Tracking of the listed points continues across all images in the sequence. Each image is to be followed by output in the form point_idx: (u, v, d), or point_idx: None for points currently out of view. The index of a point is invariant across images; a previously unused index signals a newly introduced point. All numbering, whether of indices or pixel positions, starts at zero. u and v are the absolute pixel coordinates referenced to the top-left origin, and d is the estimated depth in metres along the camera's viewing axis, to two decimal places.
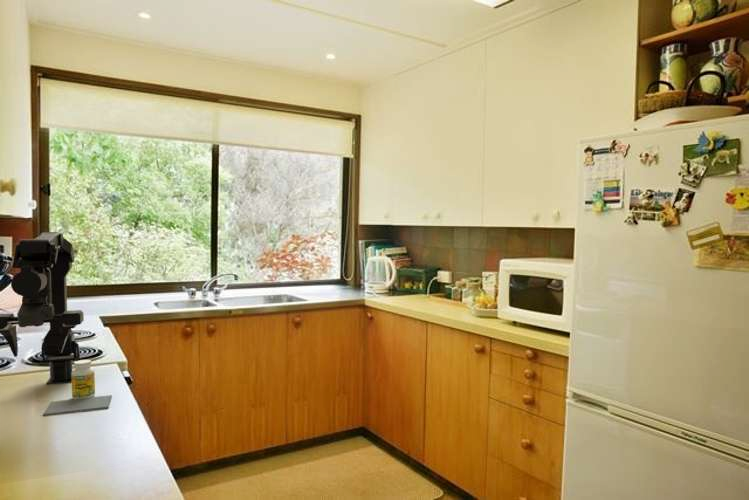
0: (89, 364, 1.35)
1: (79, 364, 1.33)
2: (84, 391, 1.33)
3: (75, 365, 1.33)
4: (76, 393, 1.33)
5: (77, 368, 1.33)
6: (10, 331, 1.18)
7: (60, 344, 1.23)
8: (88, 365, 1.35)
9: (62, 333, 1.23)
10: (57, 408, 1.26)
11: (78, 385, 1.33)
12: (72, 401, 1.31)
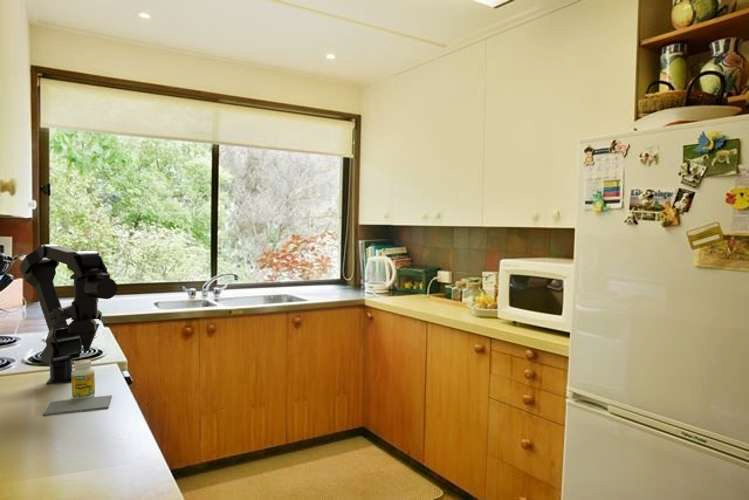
0: (89, 364, 1.35)
1: (79, 364, 1.33)
2: (84, 391, 1.33)
3: (75, 365, 1.33)
4: (76, 393, 1.33)
5: (77, 368, 1.33)
6: None
7: (82, 343, 1.41)
8: (88, 365, 1.35)
9: None
10: (57, 408, 1.26)
11: (78, 385, 1.33)
12: (72, 401, 1.31)
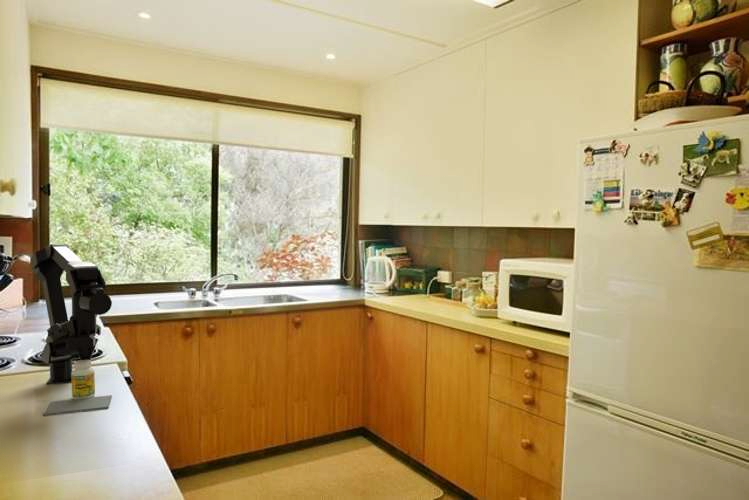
0: (89, 364, 1.35)
1: (79, 364, 1.33)
2: (84, 391, 1.33)
3: (75, 365, 1.33)
4: (76, 393, 1.33)
5: (77, 368, 1.33)
6: None
7: None
8: (88, 365, 1.35)
9: None
10: (57, 408, 1.26)
11: (78, 385, 1.33)
12: (72, 401, 1.31)
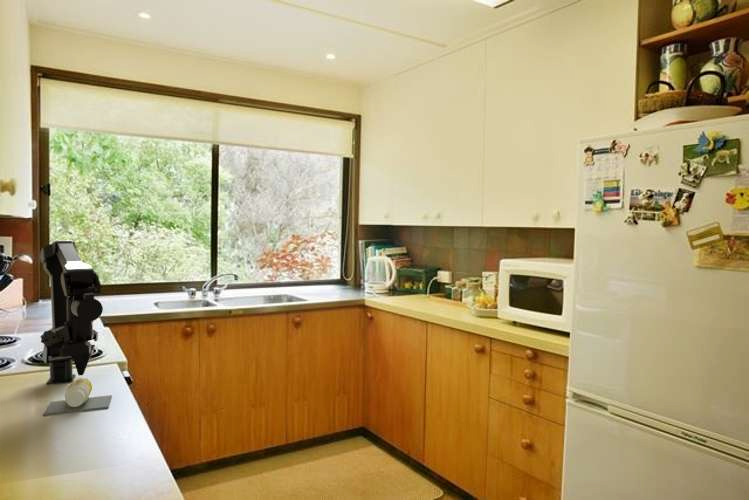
0: (83, 400, 1.26)
1: (74, 406, 1.25)
2: None
3: None
4: None
5: None
6: None
7: None
8: (83, 401, 1.26)
9: None
10: (57, 408, 1.26)
11: None
12: None
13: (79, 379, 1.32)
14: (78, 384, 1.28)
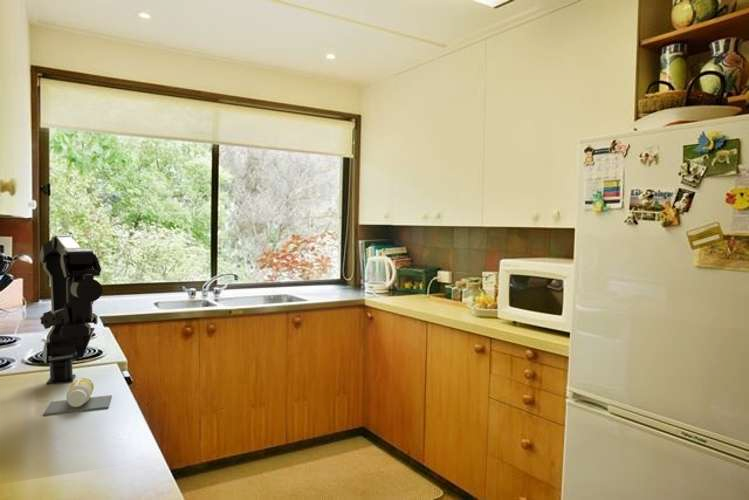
0: (85, 401, 1.26)
1: None
2: None
3: None
4: None
5: None
6: None
7: None
8: None
9: None
10: (57, 408, 1.26)
11: None
12: None
13: (82, 379, 1.32)
14: (81, 384, 1.28)
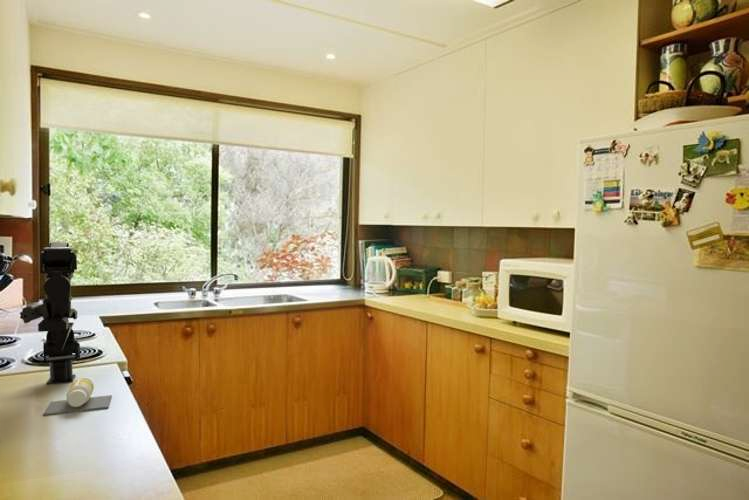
0: (85, 401, 1.26)
1: None
2: None
3: None
4: None
5: None
6: None
7: None
8: None
9: None
10: (57, 408, 1.26)
11: None
12: None
13: (82, 379, 1.32)
14: (81, 384, 1.28)
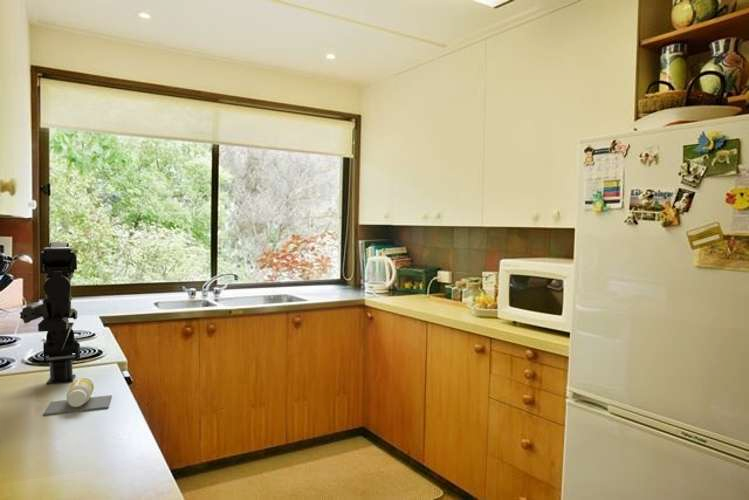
0: (85, 401, 1.26)
1: None
2: None
3: None
4: None
5: None
6: None
7: None
8: None
9: None
10: (57, 408, 1.26)
11: None
12: None
13: (82, 379, 1.32)
14: (81, 384, 1.28)
